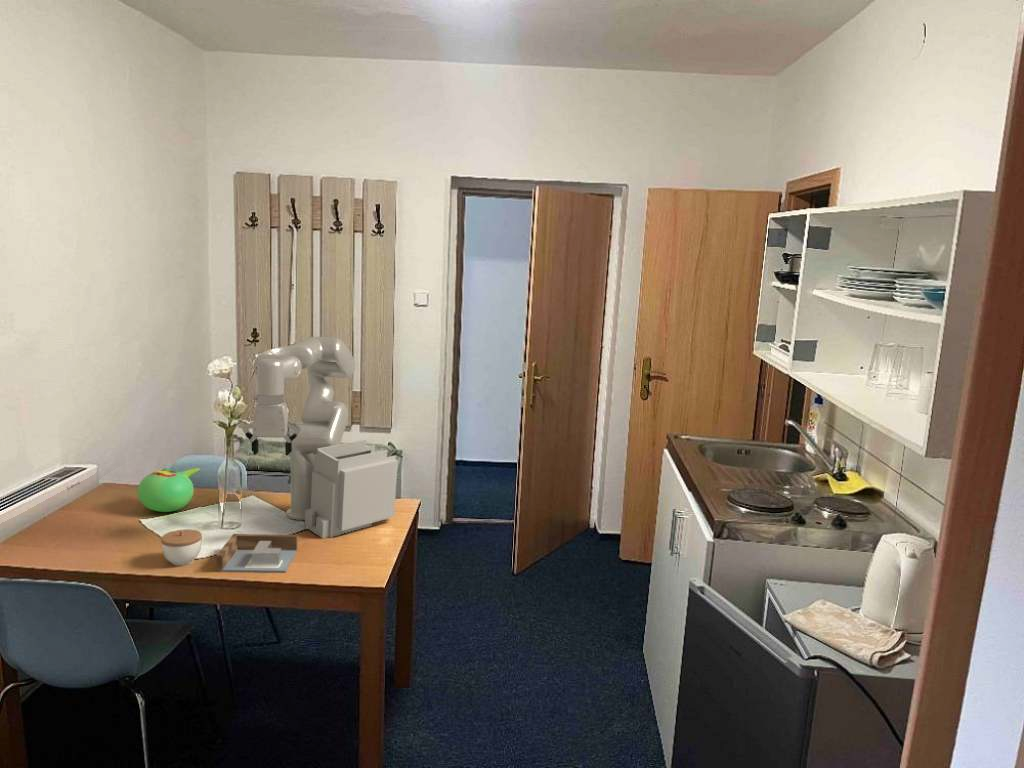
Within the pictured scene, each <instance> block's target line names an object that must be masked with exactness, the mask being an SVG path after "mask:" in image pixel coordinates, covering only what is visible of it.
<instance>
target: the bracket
mask: <svg viewBox="0 0 1024 768" xmlns="http://www.w3.org/2000/svg"><path fill="white" fill-rule="evenodd" d="M280 563H281V548H272V541H259V542H258V544H257V546H256V547H255V549H254V550H253V552H252V566H279V565H280Z"/></svg>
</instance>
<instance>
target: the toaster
mask: <svg viewBox="0 0 1024 768" xmlns="http://www.w3.org/2000/svg"><path fill="white" fill-rule="evenodd" d="M398 465H399V461H398V460H397V455H391V456H388V449H385V450H379V451H376V445H375V444H373V445H367V439H360V440H356V441H355V440H354V441H349V442H345V443H340V444H339V445H333V446H328V447H322V448H317V454H314V471H312V489H311V509H307V510H305V520H304V527H305V528H307V529H308V530H310V532H312V533H314V534H315V535H317V536H318V537H319V538H321V539H325V538H334V536H335V537H338V536H342V535H345V534H348V532H349V533H352V532H355V531H354V530H356V531H359V530H362V529H361V528H363V529H366V528H369V526H370V527H372V524H374V523H377V522H381V521H384V520H387V519H392V518H394V517H395V509H396V508H395V506H396V496H397V495H396V494H397V493H396V492H397V482H398V481H397V479H398ZM358 529H359V530H358ZM351 531H352V532H351ZM344 533H345V534H344ZM341 534H342V535H341Z"/></svg>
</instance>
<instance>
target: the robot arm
mask: <svg viewBox="0 0 1024 768" xmlns="http://www.w3.org/2000/svg"><path fill="white" fill-rule="evenodd" d="M252 365H253V370H254V371H253V372H254V373H255V375H256V376H257V394H253V395H252V399H253V400H255V401H257V403H255V404H254V408H253V418H252V421H251V422H250V423H248V424H246V425H243V426H242V427H241V430H242V431H243V433H244V435H245V437H246V438H247V439H248V440H249V441H250V443H251V451H252V452H253V455H255V456H256V455H257V454H258V453H259V440H258V438H283V439H284V440H285V451H284V452H285V454H284V455H285V456H289V461H290V462H289V463H290V508H287V510H286V515H285V516H286V517H287V518H289V519H291V520H295V519H296V520H297V521H305V510H307V509H311V489H312V471H314V455H317V448H322V447H328V446H333V445H339V444H341V442H342V438H343V436H344V433H345V431H346V430H345V429H346V427H347V424H348V420H349V409H348V407H347V404H345V403H344V402H342V401H339V400H337V401H336V400H333V399H334V394H335V391H334V388H333V386H332V384H331V383H330V382H329V381H328V380H327V378H337V379H348V378H351V377H352V376H353V375H354V373H355V370H356V362H355V359H354V357H353V354H352V352H351V351H350V349H349V348H348V346H347V345H346V343H344V341H343V340H342V339H340V338H337V337H331V336H330V337H329V336H328V337H327V336H310V337H308V338H306V339H304V340H302V341H300V342H298V343H296V344H290V345H289V344H288V345H285V346H279V347H274V348H270V349H266V350H265V351H262V352H260V353H259V354H258V355H257V356H256V357H255V358H254V361H253V364H252ZM256 367H257V369H256ZM305 369H306V370H307V376H308V381H309V391H308V394H307V396H306V399H305V401H304V404H303V407H302V410H301V413H300V420H301V422H302V424H296V425H295V423H292V422H290V420H289V411H288V407H287V403H285V395H284V394H285V387H284V385H285V383H284V381H289V380H290V381H291V380H295V379H296V378H298V377H299V376H300V374H301V373H302V370H305ZM251 428H252V432H251V431H250V430H249V429H251Z"/></svg>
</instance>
